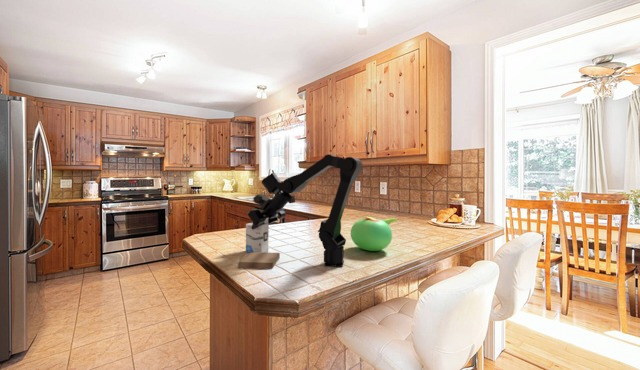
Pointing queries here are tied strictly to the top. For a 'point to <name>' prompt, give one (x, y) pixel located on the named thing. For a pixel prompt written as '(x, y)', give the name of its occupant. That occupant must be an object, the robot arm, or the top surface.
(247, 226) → the ink box
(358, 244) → the round green pot
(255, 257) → the walnut block
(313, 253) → the top surface
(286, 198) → the robot arm
